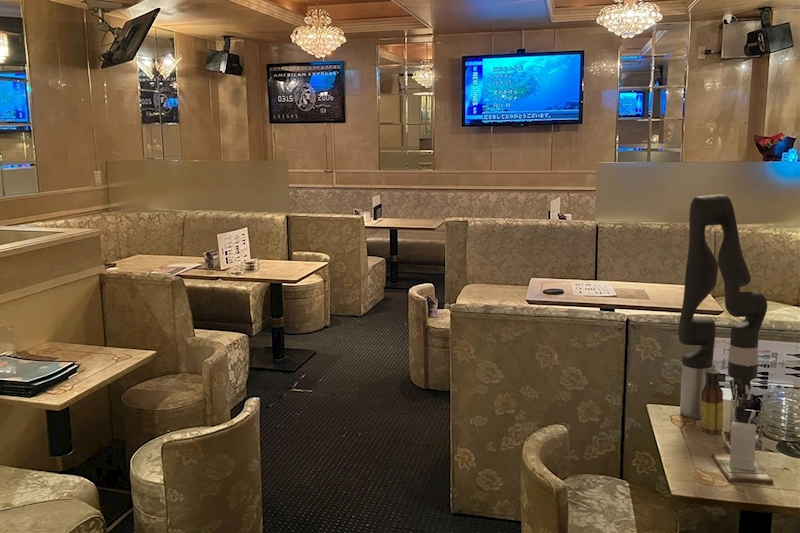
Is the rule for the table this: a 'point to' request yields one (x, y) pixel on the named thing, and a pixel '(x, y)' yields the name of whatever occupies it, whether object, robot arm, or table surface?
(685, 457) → the table surface
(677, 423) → the table surface
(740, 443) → the skincare box
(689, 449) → the table surface
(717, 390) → the sauce bottle
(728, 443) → the button housing
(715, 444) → the table surface
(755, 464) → the beige flat rectangular slab
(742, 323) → the robot arm
